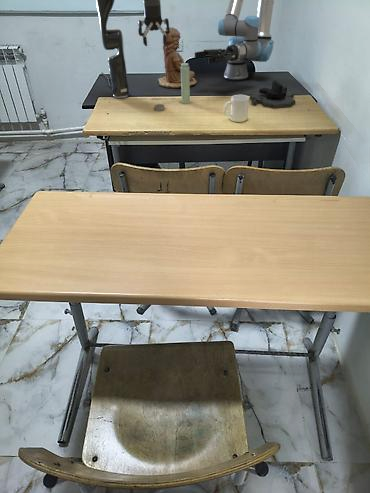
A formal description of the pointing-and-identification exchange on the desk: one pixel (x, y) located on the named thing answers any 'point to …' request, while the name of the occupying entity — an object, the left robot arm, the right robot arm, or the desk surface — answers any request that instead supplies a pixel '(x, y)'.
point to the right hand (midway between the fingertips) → (201, 57)
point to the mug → (238, 108)
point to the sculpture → (173, 62)
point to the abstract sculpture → (273, 96)
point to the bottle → (185, 83)
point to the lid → (159, 107)
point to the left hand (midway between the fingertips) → (155, 45)
